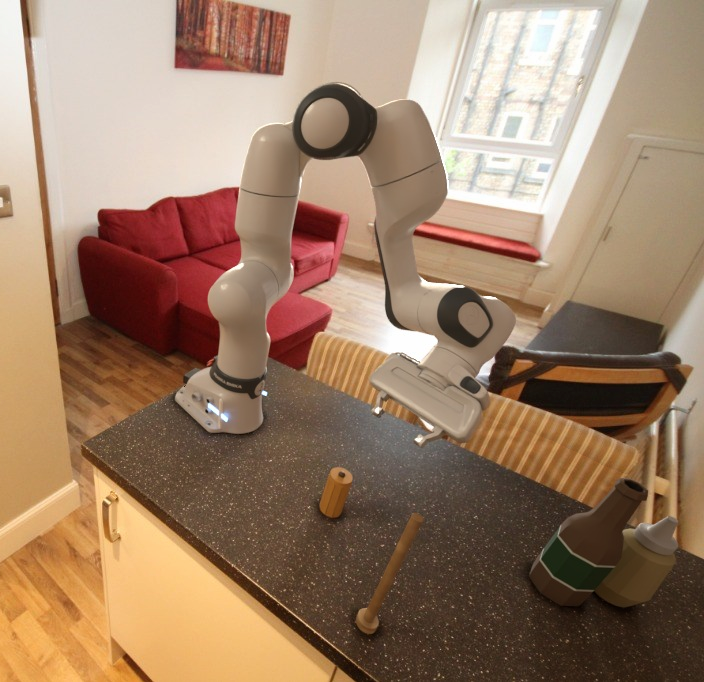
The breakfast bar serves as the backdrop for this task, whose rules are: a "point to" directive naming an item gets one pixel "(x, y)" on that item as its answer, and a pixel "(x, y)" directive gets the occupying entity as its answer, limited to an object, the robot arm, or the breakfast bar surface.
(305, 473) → the breakfast bar surface
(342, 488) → the cylinder
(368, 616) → the brown wooden rod
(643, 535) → the squeeze bottle
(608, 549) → the beer bottle
